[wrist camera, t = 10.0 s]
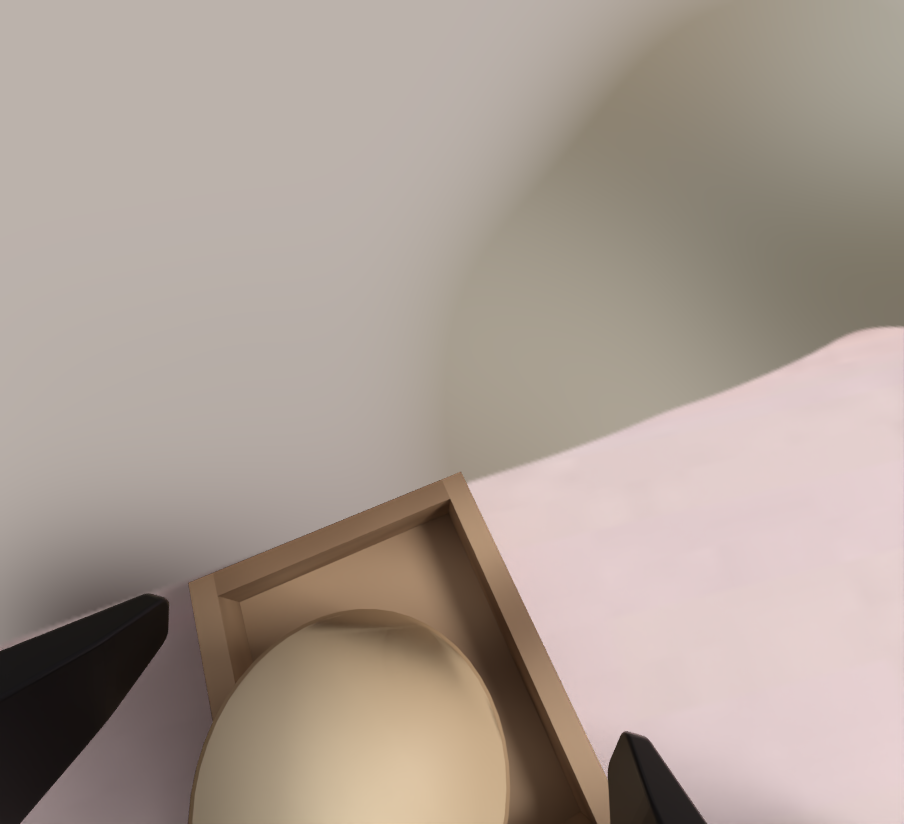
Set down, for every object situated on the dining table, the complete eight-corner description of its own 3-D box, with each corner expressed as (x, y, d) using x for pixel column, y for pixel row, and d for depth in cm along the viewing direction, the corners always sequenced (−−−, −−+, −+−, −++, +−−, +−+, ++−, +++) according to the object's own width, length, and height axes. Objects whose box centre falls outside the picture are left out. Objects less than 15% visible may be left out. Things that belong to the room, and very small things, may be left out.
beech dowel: (398, 808, 14) (346, 1132, 5) (310, 707, 16) (120, 801, 6) (481, 693, 16) (570, 757, 6) (396, 608, 17) (358, 551, 7)
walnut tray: (607, 820, 15) (641, 852, 13) (307, 1011, 13) (279, 1095, 11) (457, 494, 20) (460, 471, 18) (221, 593, 18) (188, 582, 15)
